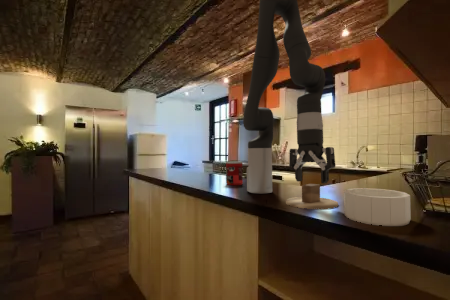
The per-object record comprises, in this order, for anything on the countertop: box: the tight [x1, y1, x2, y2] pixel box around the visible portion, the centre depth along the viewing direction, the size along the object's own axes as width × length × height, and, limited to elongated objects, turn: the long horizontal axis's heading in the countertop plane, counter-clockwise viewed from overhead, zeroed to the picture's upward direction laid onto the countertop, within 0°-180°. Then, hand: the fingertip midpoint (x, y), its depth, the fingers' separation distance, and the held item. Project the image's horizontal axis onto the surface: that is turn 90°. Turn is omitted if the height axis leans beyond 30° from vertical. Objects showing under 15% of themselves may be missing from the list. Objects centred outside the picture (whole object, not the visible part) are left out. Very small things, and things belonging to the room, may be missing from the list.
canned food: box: [225, 161, 244, 186], centre depth 121 cm, size 8×8×11 cm
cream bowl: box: [343, 187, 412, 227], centre depth 59 cm, size 13×13×6 cm
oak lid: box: [285, 183, 339, 210], centre depth 76 cm, size 15×15×6 cm
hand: (311, 182), depth 75 cm, fingers open, 8 cm apart
